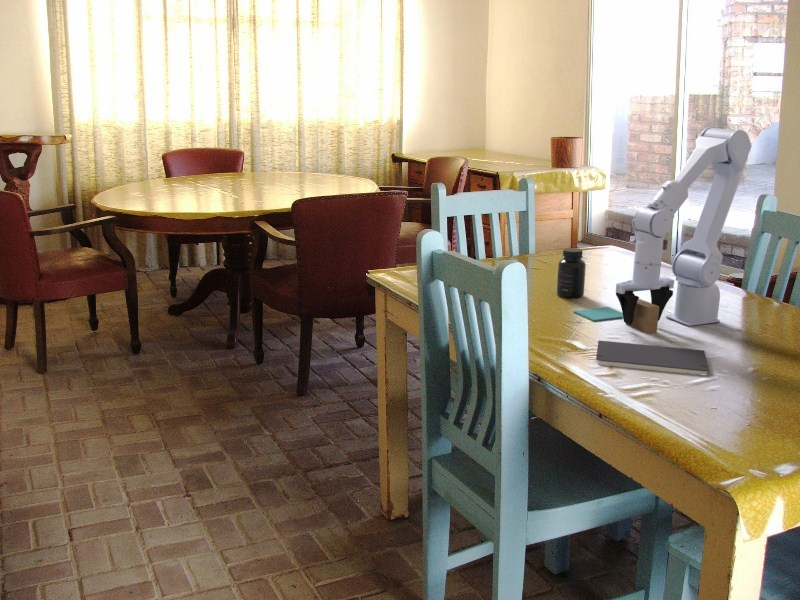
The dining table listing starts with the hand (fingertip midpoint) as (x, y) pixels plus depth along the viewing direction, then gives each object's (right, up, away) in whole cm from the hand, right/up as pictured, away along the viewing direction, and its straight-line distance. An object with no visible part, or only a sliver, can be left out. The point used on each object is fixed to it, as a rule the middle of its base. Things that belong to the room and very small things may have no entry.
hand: (641, 321), depth 193 cm
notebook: (-4, -8, -20) cm, 22 cm away
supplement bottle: (-11, +6, +26) cm, 29 cm away
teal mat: (-7, +1, +10) cm, 12 cm away
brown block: (0, -2, 0) cm, 2 cm away
